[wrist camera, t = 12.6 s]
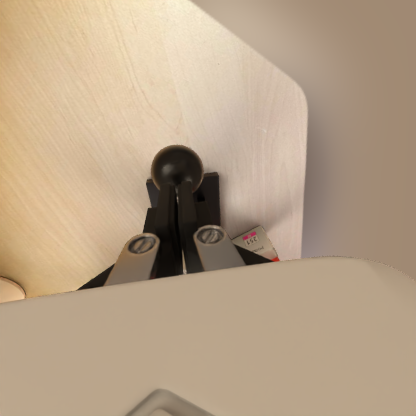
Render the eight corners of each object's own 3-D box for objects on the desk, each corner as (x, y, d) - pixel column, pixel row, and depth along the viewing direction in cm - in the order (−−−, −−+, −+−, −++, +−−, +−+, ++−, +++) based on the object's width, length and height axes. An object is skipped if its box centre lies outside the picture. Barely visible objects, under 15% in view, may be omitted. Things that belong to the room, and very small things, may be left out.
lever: (148, 140, 15) (142, 158, 12) (198, 136, 15) (204, 151, 12) (175, 266, 22) (175, 297, 19) (208, 261, 22) (214, 291, 19)
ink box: (199, 255, 34) (206, 310, 26) (261, 224, 32) (289, 273, 24) (206, 263, 35) (215, 319, 27) (266, 234, 34) (295, 284, 26)
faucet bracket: (146, 179, 26) (126, 249, 15) (217, 171, 27) (244, 233, 16) (161, 239, 31) (153, 323, 21) (219, 232, 32) (241, 309, 21)
